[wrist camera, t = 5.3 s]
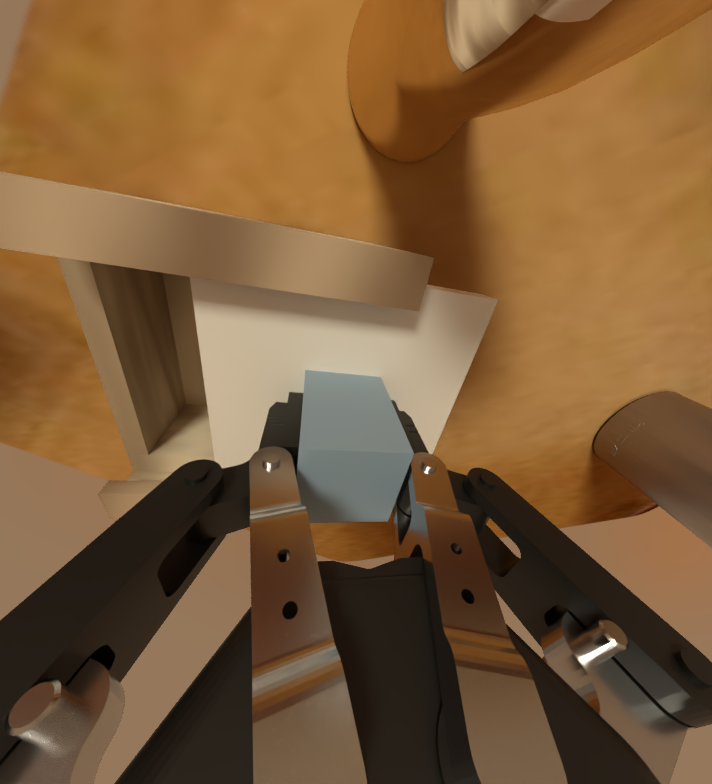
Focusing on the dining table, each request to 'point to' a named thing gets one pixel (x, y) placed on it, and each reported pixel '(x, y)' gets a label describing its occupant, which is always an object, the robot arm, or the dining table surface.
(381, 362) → the cover plate
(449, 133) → the beer glass
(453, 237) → the dining table surface
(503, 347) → the dining table surface
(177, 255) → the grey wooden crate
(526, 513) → the robot arm
